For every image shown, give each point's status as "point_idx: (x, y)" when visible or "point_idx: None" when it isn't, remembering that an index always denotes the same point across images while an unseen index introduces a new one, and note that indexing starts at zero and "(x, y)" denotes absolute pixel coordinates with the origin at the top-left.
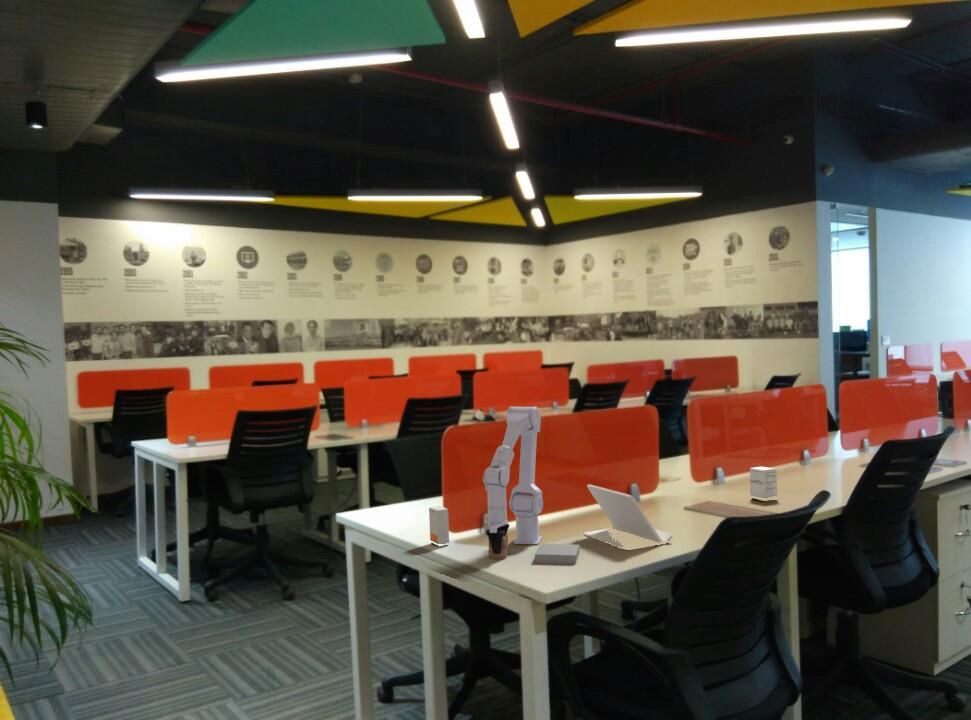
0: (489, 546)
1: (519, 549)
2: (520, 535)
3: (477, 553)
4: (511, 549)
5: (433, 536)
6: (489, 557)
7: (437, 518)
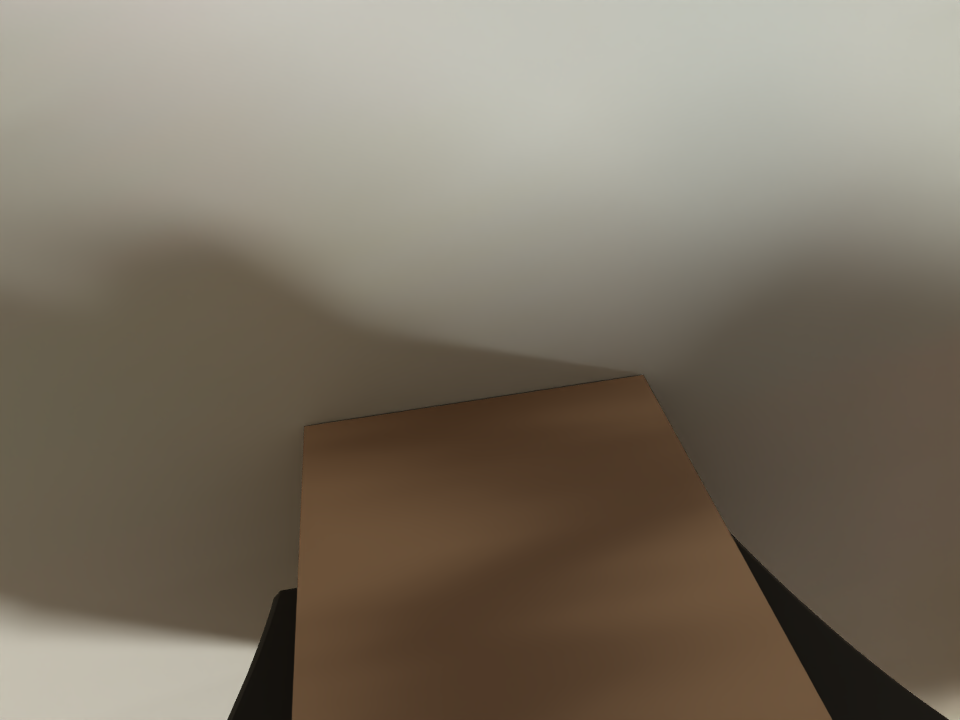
0: (300, 631)
1: (928, 643)
2: None
3: (657, 39)
4: (942, 553)
5: None
6: (307, 441)
7: None
